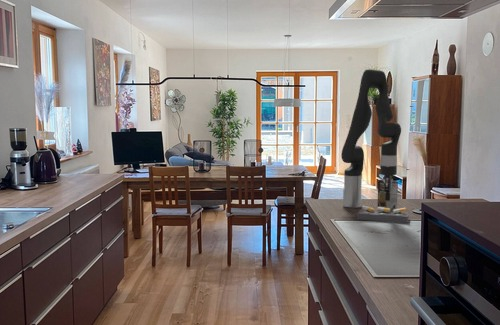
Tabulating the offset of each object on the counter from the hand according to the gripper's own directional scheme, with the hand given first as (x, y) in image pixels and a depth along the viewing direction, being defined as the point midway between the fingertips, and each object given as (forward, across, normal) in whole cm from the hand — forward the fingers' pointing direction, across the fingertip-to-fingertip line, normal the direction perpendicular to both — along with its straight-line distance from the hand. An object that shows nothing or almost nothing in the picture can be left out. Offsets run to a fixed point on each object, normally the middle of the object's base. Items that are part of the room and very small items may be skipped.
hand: (387, 200), depth 229 cm
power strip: (+9, +3, -2) cm, 9 cm away
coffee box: (+9, -18, -2) cm, 21 cm away
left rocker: (+5, 0, -9) cm, 10 cm away
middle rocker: (+5, 0, -2) cm, 5 cm away
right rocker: (+5, 0, +6) cm, 8 cm away
